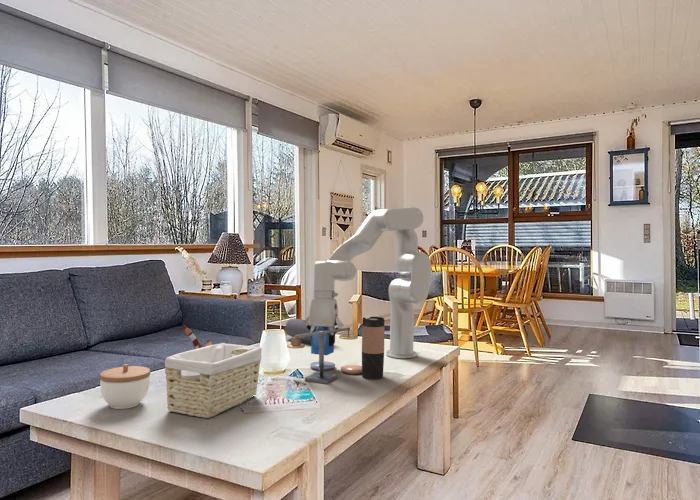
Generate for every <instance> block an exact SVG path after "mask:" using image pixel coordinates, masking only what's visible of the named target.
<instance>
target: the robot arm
mask: <svg viewBox="0 0 700 500" xmlns="http://www.w3.org/2000/svg"><path fill="white" fill-rule="evenodd" d="M423 222H424V214H423V211H422V210H421V209H420V208H418V207H415V206H411V207H398V208H397V207H396V208H380V209H379V208H378V209H374V210H373V211H371V212H370V213H369V214H368V216H367V217H366V219H364V221H363V222H362V224H361V225H360V227H359V228H358V229H357V231H356V232H355V234H354V235H352V236H351V237H350V238H349V239H347V240H346V241H345V242H343V243H342V244H341V245H339V246H337V248H336V249H335V250H334V251H333V252H332V254H331V255H330V256H329V258H328V259H327V260H321V261H320V260H318V261H316V262H315V263H314V264H313V265H314V266H313V297H312V299H311V301H310V306H309V307H310V308H309V314H308V315H309V316H307V318H306V319H304V320H305V321H304V322H303V323H304V324H305V325H306V326H307V328H308V330H309V331H310V333H313V332H314V331H315V330H316V329H317V327H318V326H319V327H321V326H322V327H328V328H329V330H334V329H341V328H344V323H343V322H342V321H341V319H340V318H339V307H338V301H337V298H336V297H338V295H339V294H338V292H336V291H335V283H336V282H335V281H339V282H350V281H352V280H353V279H355V277H356V276H357V271H358V270H357V267H356V265H355V264H354V263H353V262H351V260H353V259H355V258H356V257H357V256H360V255H363V254H365V253H367V252H369V251H370V250H372V249H373V247H374V246H375V244H376V243H377V242H378V241H379V239H380V237H381V236H383V233H385V232H389V231H391V232H394V234H395V235H396V241H397V242H396V252H395V261H394V268H395V271H396V273H398V274H401V275H404V276H410V278H407V277H397V278H394V279H393V280H391V282H390V283H389V286H388V297H389V303H390V323H389V324H390V325H389V326H390V327H389V330H390V331H389V332H390V333H389V336H390V337H389V338H390V339H389V350H387V351H385V354H386V356H387V357H389V358H393V359H394V358H395V359H413V358H417V356H418V353H417V352H416V351H414V334H415V331H414V329H415V312H414V310H415V309H414V306H413V304H417V305H418V304H422V303H425V301H426V300H427V298H428V296H429V292H430V286H431V285H430V282H431V275H432V261H431V259H430V257H429V256H428V254H426V253H425V252H422V251H418V246H419V239H418V235H417V233H416V231H415V230H416V229H418V228H420V227H421V226H422V224H423ZM311 325H312V326H311ZM337 333H338V332H333V333H330V335H329V346H333V345H334V346H335V343H336V334H337Z"/></svg>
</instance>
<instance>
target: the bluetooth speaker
mask: <svg viewBox="0 0 700 500" xmlns="http://www.w3.org/2000/svg"><path fill="white" fill-rule="evenodd" d="M305 320H306V319H301V318H290V319H288V320H287V321H286V323H285V326H284V331H285V334H286V335H287V336H289V337H290V338H292V337H295V335H299V334H306V333H310V331H309V330H308V328H307V326H306V325H305V324H304V323H303V322H304V321H305ZM311 326H312V325H311ZM318 328H319V326H318V327H317V329H318ZM327 328H328V327H327ZM301 343H306V344H310V345H311V336H305V337H301Z"/></svg>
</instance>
